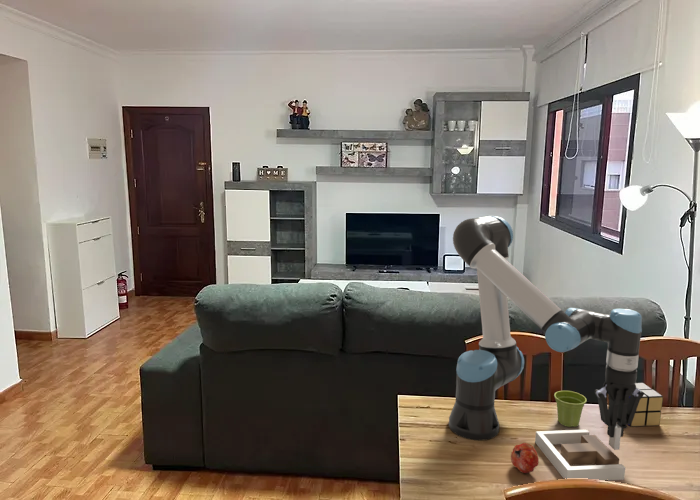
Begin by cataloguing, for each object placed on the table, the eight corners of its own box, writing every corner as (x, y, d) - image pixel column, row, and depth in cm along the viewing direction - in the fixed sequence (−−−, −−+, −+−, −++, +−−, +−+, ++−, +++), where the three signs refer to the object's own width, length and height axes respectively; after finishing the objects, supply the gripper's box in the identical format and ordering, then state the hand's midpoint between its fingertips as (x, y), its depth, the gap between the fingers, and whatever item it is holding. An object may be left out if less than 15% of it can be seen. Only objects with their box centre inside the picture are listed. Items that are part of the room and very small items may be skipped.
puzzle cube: (611, 411, 170) (614, 383, 168) (639, 410, 171) (643, 382, 169) (630, 427, 160) (633, 397, 159) (660, 426, 161) (664, 396, 160)
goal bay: (566, 482, 133) (567, 470, 132) (535, 442, 151) (535, 431, 151) (624, 479, 134) (625, 467, 133) (585, 440, 153) (586, 429, 152)
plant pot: (547, 423, 162) (549, 397, 161) (558, 412, 170) (560, 387, 168) (578, 433, 156) (581, 407, 155) (588, 421, 164) (590, 396, 162)
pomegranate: (521, 466, 143) (497, 451, 140) (538, 446, 143) (515, 431, 139) (535, 485, 137) (511, 469, 133) (554, 464, 136) (529, 448, 132)
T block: (574, 474, 136) (575, 460, 136) (553, 449, 148) (554, 436, 147) (617, 472, 137) (619, 458, 137) (593, 447, 149) (594, 434, 148)
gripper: (605, 372, 134) (598, 455, 138) (653, 371, 135) (645, 453, 139) (590, 361, 142) (584, 440, 146) (636, 360, 143) (628, 438, 147)
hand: (613, 446), depth 143 cm, fingers closed
